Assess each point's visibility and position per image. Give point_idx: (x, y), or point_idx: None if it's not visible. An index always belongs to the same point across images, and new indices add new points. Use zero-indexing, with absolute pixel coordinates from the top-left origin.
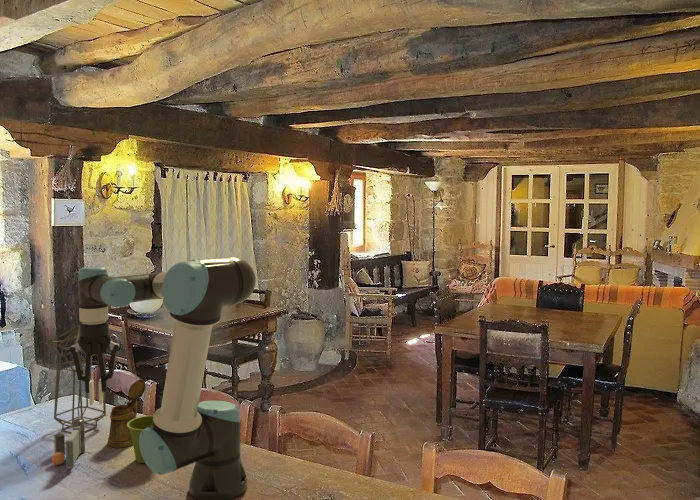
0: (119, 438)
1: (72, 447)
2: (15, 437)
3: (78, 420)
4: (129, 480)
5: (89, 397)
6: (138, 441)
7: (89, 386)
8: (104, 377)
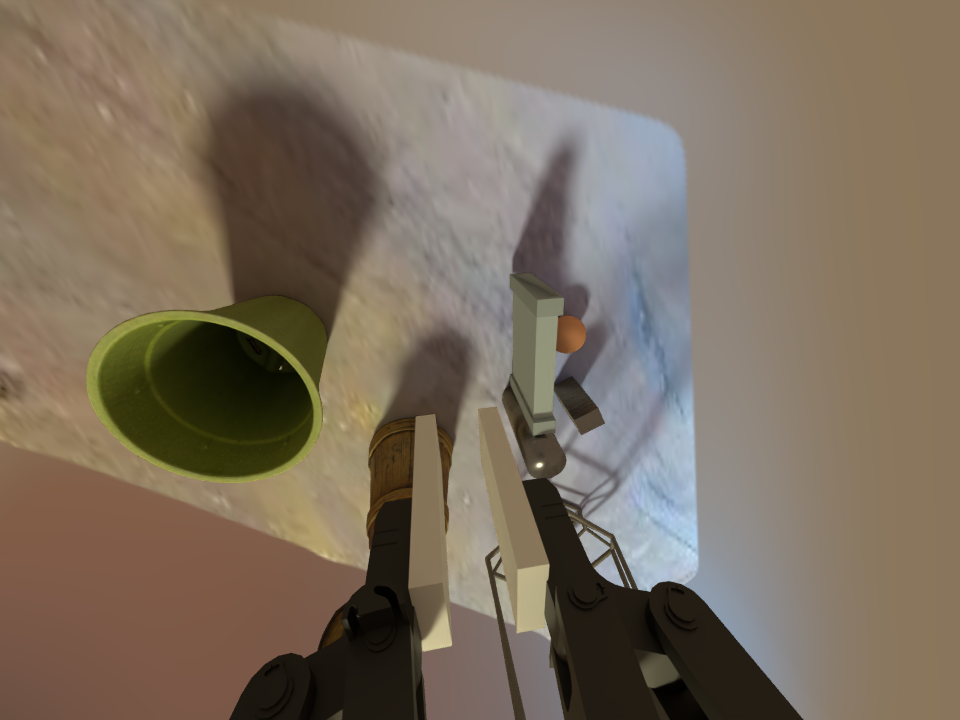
0: (409, 439)
1: (530, 292)
2: (675, 482)
3: (546, 463)
4: (289, 162)
5: (508, 442)
6: (263, 316)
7: (531, 522)
8: (360, 665)
